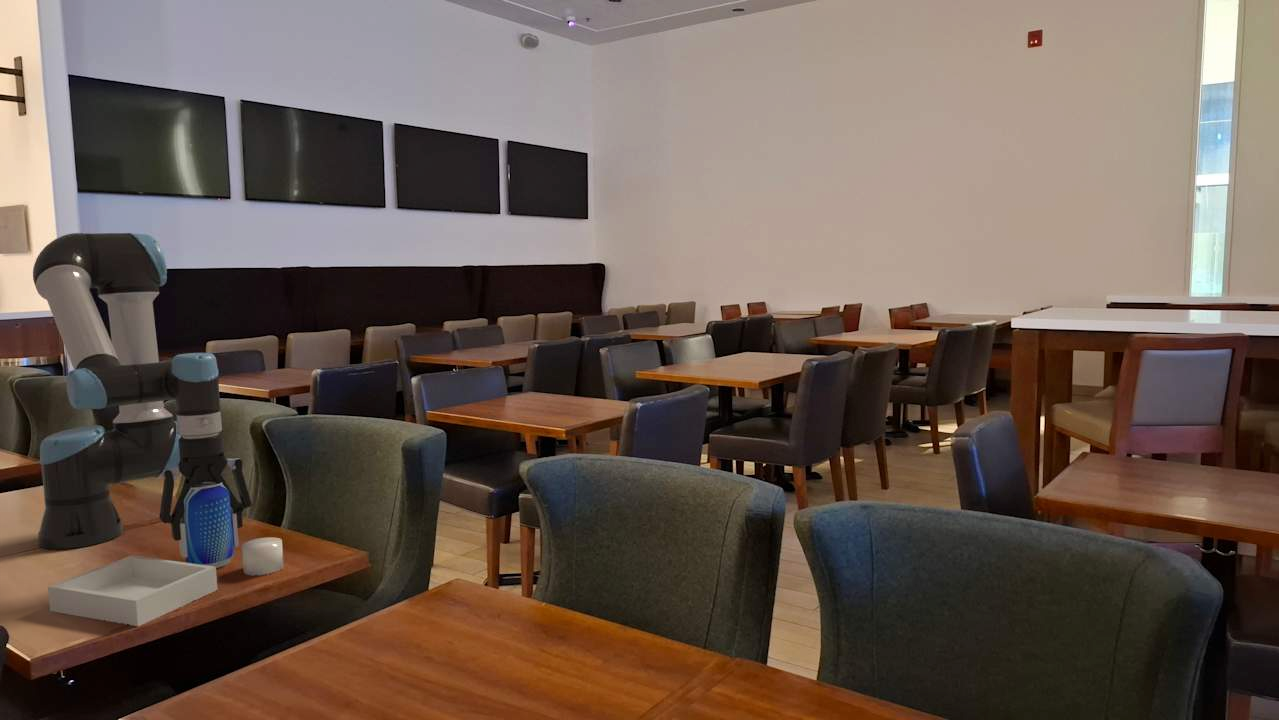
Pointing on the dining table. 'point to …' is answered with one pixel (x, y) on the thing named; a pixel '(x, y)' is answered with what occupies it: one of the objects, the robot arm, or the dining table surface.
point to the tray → (132, 590)
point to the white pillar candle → (262, 556)
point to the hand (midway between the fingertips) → (209, 549)
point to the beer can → (208, 525)
